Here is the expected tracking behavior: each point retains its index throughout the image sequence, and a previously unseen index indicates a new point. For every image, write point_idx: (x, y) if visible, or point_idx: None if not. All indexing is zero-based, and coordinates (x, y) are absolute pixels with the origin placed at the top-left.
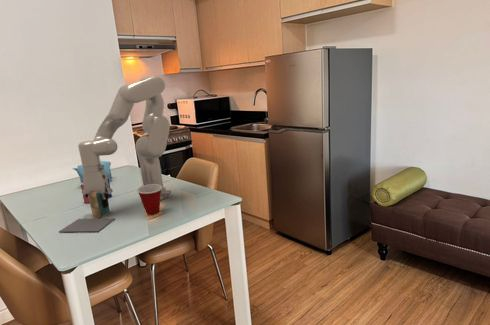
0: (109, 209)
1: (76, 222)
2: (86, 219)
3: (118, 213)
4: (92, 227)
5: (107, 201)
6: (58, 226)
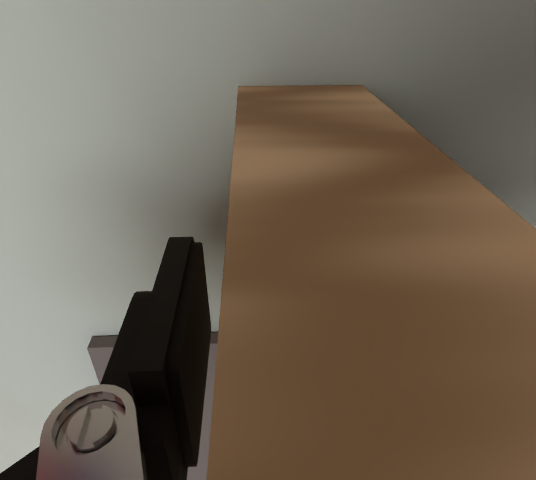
0: (370, 95)
1: None
2: (209, 361)
3: (528, 167)
4: None
5: None
6: (14, 435)
